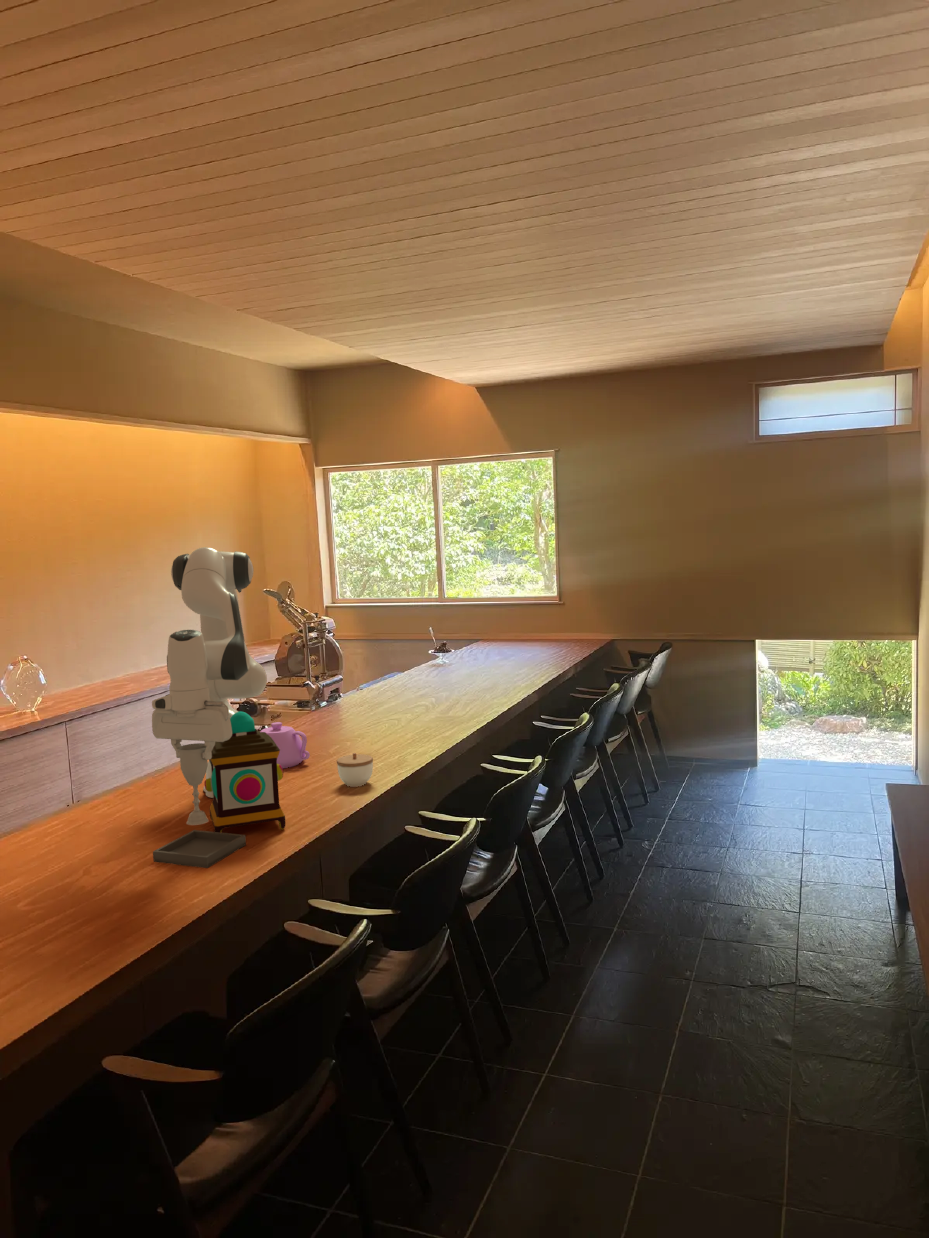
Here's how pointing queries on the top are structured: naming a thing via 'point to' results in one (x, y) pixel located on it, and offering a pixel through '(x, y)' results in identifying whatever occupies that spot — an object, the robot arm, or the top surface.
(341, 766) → the lidded jar
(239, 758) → the decorative lantern
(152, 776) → the top surface
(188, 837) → the tray
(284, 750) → the teapot
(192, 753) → the chalice
